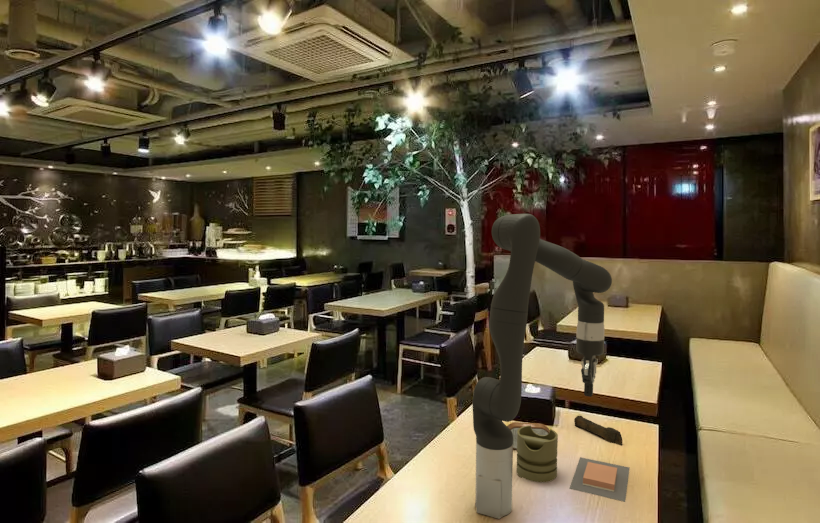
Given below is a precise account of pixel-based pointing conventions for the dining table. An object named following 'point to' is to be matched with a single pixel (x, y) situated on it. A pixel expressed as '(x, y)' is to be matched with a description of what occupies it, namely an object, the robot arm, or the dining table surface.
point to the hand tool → (599, 430)
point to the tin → (536, 427)
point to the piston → (536, 455)
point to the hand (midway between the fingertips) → (588, 395)
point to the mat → (617, 494)
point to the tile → (600, 476)
